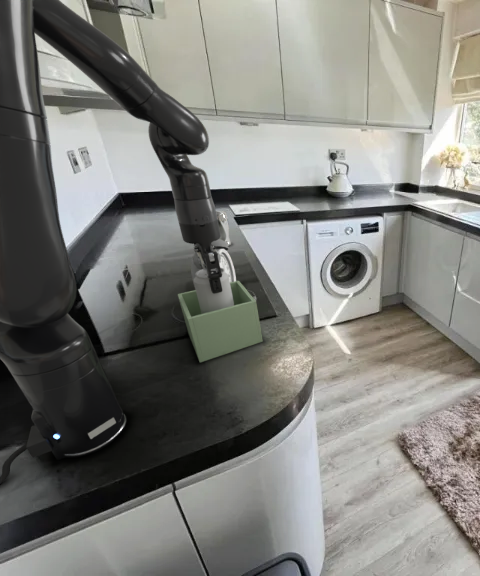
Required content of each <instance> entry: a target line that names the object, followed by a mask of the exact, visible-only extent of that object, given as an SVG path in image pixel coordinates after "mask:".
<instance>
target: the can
mask: <svg viewBox="0 0 480 576" xmlns="http://www.w3.org/2000/svg"><path fill="white" fill-rule="evenodd" d="M220 269H221V273H222V277H220V281H221V285H222V292H219V293H215V294H213V293H212V291H211V287H210V283H209V279H208V278H207V273H206V271H205V270H203V269H201V270H199V271H197V272H196V273H195V276H196V277H195V278H194V284H193V286H194V285H195V287H194V290H195V289H196V293H197V297H198V301H199V305H200V309H201V313H202V314H204V313H208V312H212V311H216V310H219V309H223V308H227V307H231V306H234V301H233V296H232V291H231V286H230V281H229V276H228V274H227V273H225V270H224V269H223V268H220ZM211 273H216V270H215V268H214V269H211Z"/></svg>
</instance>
